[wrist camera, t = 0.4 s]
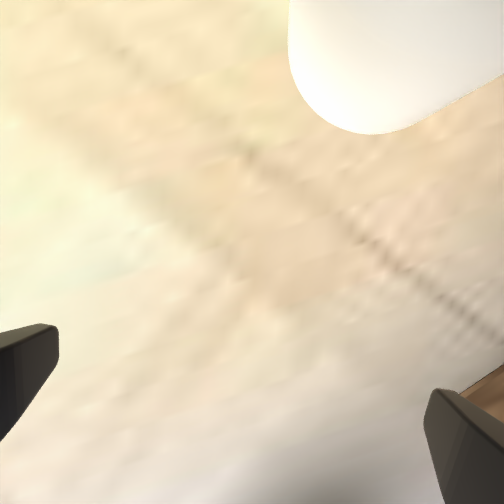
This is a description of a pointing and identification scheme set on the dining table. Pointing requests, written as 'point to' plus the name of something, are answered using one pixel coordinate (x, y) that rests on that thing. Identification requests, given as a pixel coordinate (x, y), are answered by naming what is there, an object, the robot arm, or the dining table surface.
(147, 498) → the dining table surface
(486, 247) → the dining table surface
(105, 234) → the dining table surface
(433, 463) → the robot arm
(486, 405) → the walnut block
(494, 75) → the wine bottle
